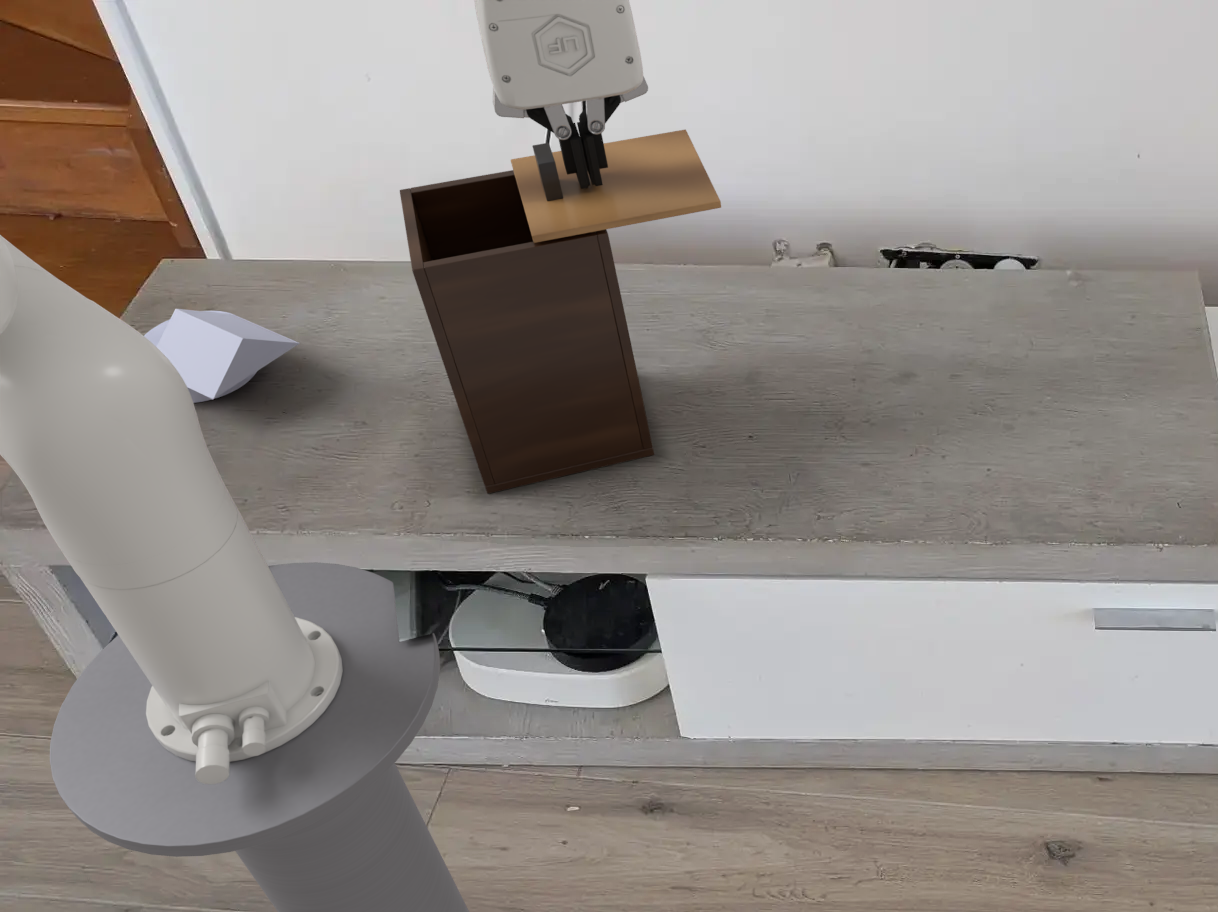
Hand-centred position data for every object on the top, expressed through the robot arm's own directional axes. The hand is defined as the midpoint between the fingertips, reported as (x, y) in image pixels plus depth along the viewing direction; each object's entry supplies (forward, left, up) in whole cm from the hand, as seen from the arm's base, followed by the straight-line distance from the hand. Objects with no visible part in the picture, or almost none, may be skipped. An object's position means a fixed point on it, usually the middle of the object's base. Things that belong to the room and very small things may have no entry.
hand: (588, 178), depth 98 cm
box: (0, +7, -23) cm, 24 cm away
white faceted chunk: (+18, +34, -23) cm, 44 cm away
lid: (0, -2, -1) cm, 2 cm away
